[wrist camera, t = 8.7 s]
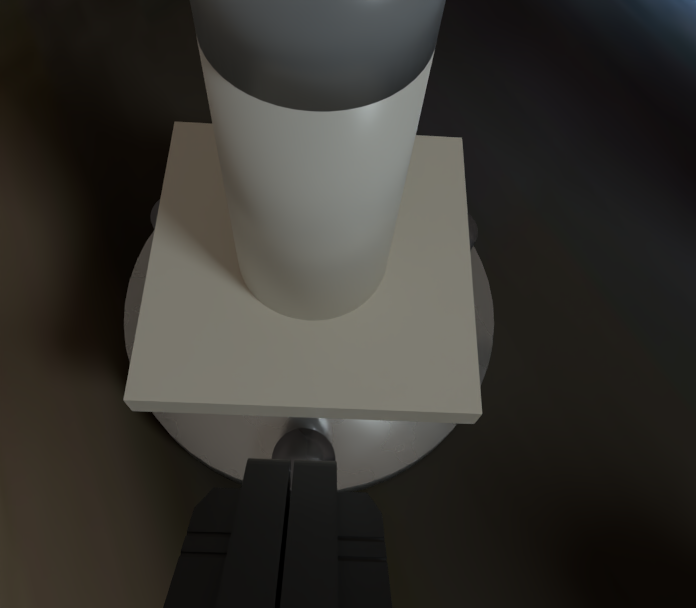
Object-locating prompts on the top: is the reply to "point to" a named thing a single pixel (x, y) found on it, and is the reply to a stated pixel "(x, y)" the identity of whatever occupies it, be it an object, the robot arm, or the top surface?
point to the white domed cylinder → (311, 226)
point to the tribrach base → (311, 433)
